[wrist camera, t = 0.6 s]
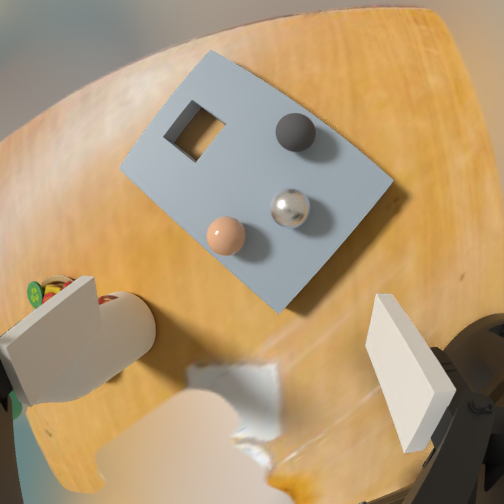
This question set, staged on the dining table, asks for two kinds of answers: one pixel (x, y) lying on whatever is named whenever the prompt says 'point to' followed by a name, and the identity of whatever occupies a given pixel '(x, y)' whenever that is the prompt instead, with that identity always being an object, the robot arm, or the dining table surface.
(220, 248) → the terracotta ball
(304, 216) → the steel ball
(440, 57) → the dining table surface
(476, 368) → the robot arm
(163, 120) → the board
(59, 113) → the dining table surface
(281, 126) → the black ball
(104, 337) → the milk bottle
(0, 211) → the dining table surface
